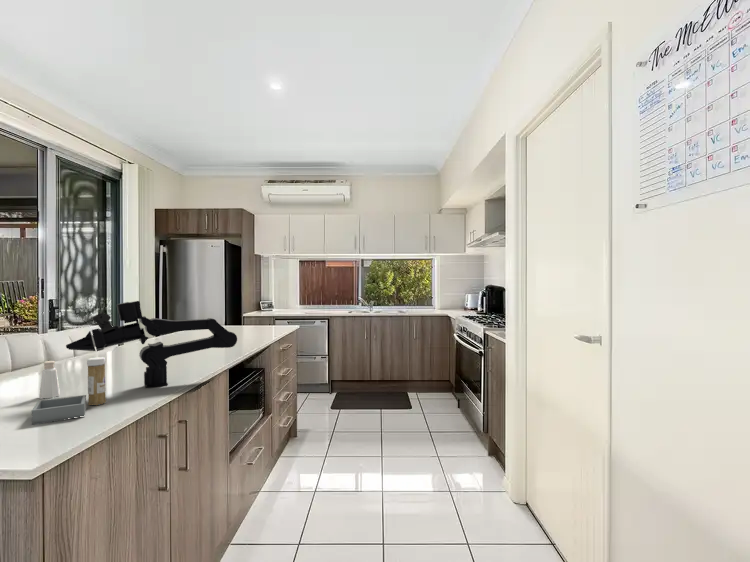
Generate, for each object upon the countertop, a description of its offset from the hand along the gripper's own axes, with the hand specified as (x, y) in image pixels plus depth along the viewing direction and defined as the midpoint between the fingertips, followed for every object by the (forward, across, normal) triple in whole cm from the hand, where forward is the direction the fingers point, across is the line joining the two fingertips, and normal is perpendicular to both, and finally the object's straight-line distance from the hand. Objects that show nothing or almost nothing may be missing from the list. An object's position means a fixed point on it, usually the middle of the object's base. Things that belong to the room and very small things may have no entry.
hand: (67, 347), depth 139 cm
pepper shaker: (+8, -6, +14) cm, 17 cm away
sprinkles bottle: (-4, +14, +19) cm, 24 cm away
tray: (+4, +21, +18) cm, 28 cm away
